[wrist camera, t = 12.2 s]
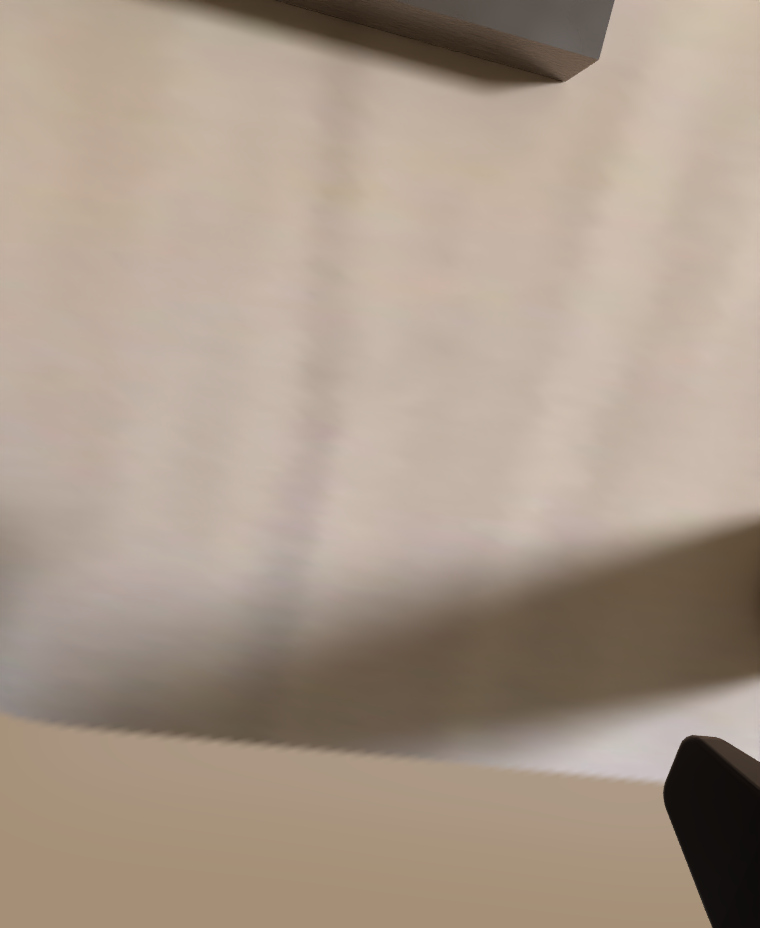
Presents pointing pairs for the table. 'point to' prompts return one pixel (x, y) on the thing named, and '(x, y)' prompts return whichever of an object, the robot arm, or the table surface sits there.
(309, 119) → the table surface
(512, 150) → the table surface
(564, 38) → the ring on base plate
